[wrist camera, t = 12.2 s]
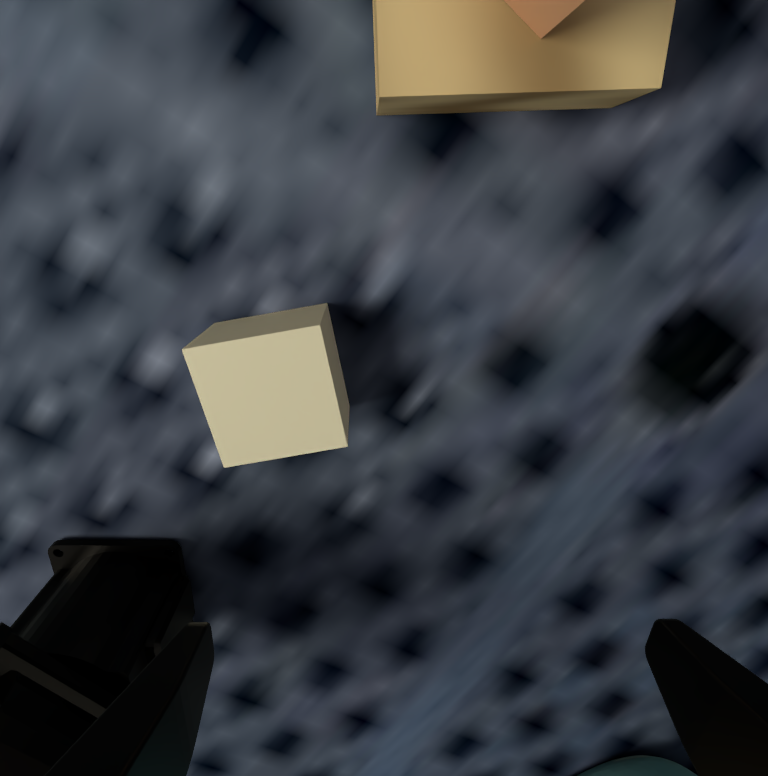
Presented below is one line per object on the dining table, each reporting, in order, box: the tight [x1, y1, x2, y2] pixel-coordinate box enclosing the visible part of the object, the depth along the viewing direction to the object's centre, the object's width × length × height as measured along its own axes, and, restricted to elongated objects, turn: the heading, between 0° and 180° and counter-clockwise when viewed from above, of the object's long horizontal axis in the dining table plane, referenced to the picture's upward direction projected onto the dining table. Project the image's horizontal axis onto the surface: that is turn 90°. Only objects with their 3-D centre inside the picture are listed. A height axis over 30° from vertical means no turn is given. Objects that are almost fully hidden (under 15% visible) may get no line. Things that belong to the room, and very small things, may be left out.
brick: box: [182, 303, 350, 468], centre depth 19 cm, size 5×5×4 cm
